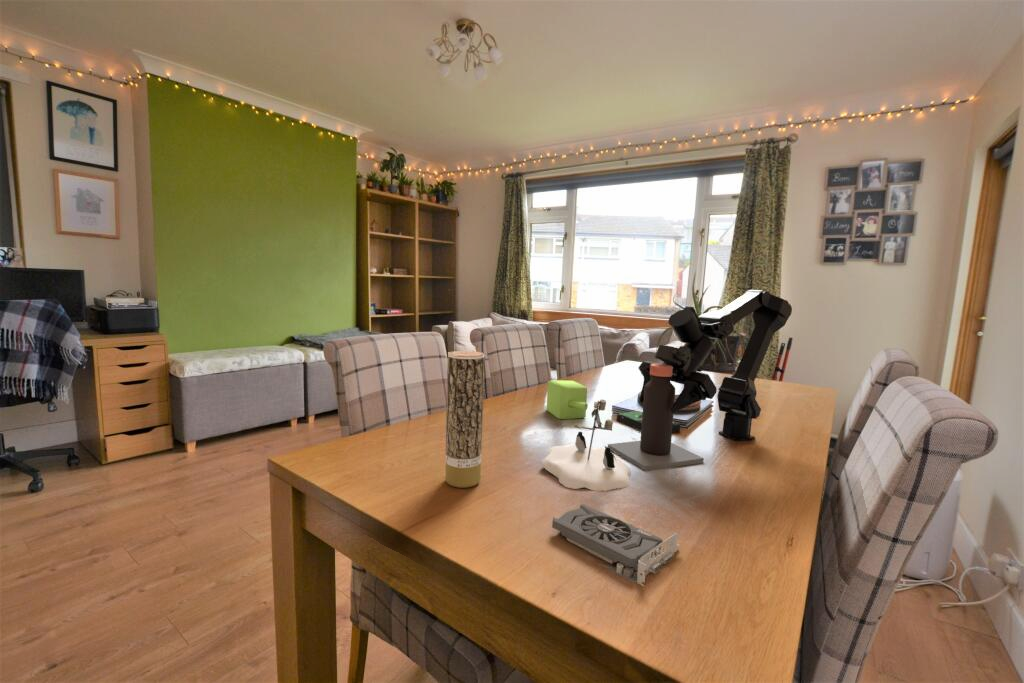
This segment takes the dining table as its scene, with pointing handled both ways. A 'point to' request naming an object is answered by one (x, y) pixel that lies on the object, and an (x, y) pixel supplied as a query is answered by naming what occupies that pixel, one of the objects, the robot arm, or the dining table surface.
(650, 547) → the graphics card
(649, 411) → the brown bottle
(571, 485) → the figurine
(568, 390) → the gearbox
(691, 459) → the mat
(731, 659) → the dining table surface
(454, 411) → the paper tube
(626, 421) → the disk drive
